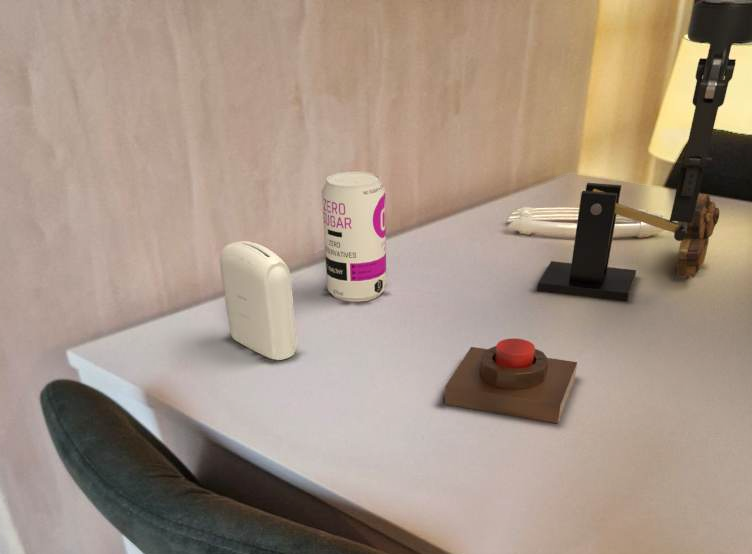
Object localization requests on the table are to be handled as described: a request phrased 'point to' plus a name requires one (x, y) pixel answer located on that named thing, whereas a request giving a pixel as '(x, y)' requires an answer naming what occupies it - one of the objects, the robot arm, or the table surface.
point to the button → (514, 353)
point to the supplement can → (355, 235)
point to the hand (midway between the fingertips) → (681, 219)
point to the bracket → (592, 252)
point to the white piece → (528, 223)
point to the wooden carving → (697, 237)
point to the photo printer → (259, 299)
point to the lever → (653, 220)
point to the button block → (511, 385)
